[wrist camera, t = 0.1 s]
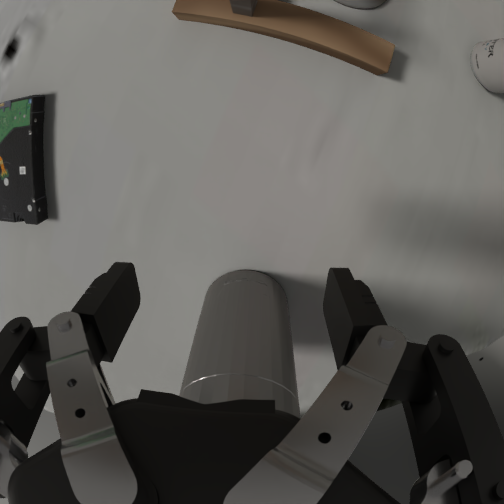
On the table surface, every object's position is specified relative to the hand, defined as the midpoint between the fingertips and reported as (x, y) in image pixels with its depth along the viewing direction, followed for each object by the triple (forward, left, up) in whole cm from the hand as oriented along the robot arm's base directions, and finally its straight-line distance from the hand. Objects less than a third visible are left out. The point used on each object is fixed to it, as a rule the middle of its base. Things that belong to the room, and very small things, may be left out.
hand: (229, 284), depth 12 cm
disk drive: (+5, +28, -18) cm, 34 cm away
